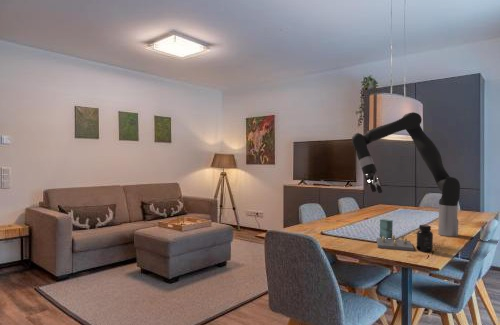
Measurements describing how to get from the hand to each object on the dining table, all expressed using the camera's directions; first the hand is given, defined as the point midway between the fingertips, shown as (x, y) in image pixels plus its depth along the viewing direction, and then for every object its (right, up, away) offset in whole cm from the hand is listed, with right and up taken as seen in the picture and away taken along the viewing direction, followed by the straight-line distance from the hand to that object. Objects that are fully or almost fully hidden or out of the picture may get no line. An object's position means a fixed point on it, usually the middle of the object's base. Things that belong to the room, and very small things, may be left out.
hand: (377, 192), depth 191 cm
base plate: (+1, -25, -20) cm, 32 cm away
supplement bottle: (+12, -26, -28) cm, 40 cm away
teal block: (+3, -25, -4) cm, 25 cm away
